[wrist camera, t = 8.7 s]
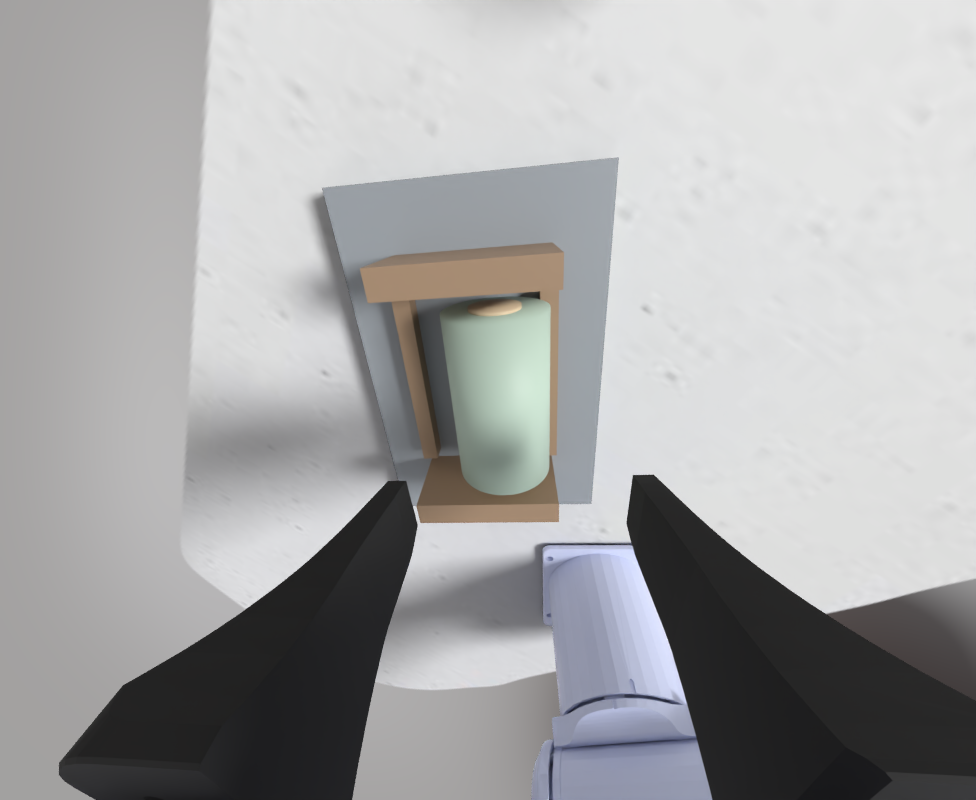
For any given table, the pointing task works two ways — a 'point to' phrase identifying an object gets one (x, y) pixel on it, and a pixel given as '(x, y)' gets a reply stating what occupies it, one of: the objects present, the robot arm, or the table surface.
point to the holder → (474, 275)
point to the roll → (500, 390)
